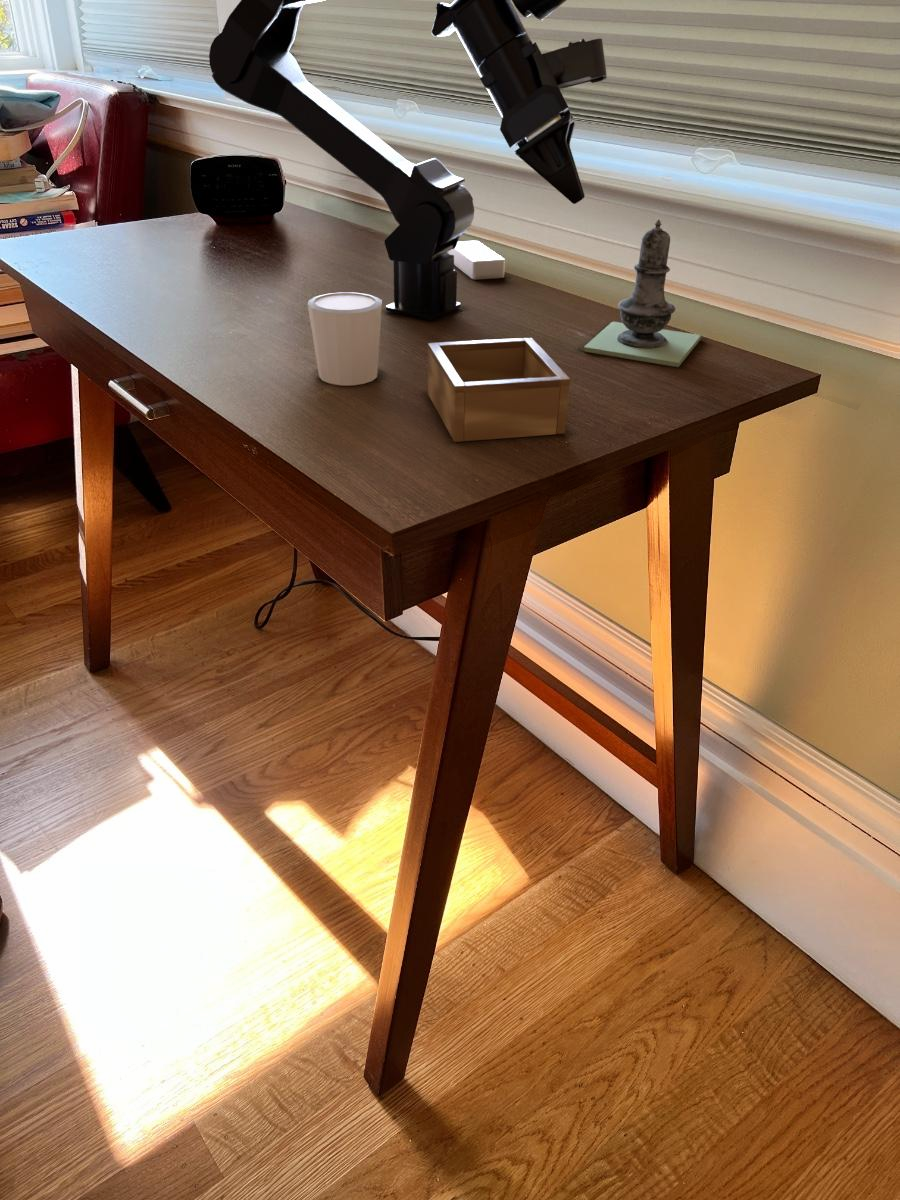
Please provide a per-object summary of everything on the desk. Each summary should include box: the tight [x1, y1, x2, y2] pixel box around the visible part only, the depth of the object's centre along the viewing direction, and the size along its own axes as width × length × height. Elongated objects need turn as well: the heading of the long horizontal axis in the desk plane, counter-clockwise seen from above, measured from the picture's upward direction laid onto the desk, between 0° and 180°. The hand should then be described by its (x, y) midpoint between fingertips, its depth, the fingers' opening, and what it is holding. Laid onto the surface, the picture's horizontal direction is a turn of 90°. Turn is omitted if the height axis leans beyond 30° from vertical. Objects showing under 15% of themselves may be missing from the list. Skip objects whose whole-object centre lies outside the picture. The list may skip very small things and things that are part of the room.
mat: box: [582, 321, 702, 368], centre depth 96 cm, size 10×10×1 cm
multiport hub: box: [447, 240, 506, 281], centre depth 121 cm, size 4×11×2 cm, turn 18°
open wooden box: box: [427, 337, 571, 443], centre depth 78 cm, size 11×10×5 cm
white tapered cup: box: [307, 291, 383, 386], centre depth 85 cm, size 7×7×7 cm
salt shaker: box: [617, 219, 676, 348], centre depth 92 cm, size 6×6×12 cm
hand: (579, 200), depth 93 cm, fingers open, 9 cm apart
